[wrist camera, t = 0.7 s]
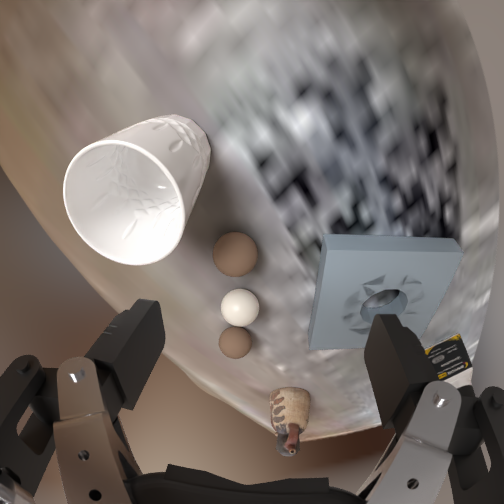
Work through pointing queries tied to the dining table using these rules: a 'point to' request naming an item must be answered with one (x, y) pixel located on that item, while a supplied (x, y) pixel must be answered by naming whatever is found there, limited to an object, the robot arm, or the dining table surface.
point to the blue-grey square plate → (378, 284)
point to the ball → (240, 307)
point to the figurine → (289, 417)
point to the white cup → (137, 188)
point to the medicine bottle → (452, 364)
